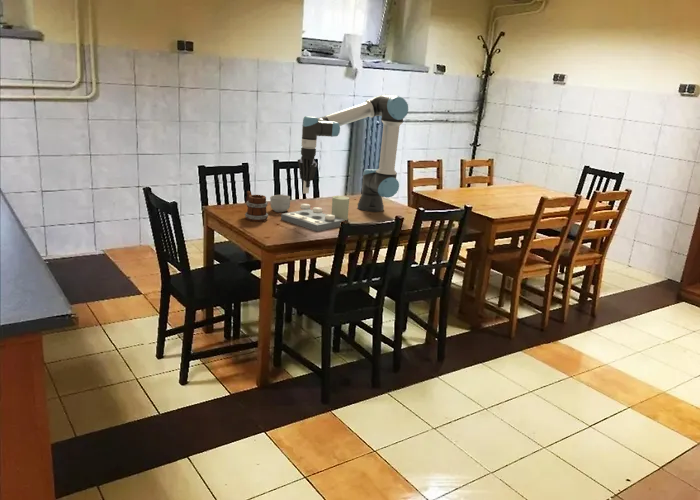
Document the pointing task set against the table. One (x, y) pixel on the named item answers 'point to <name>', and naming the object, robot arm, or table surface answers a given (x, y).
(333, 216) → the button
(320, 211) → the button middle
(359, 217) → the table surface
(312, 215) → the button board
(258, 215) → the mug
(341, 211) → the can
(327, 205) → the table surface
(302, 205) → the button
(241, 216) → the table surface
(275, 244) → the table surface
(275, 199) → the teacup
